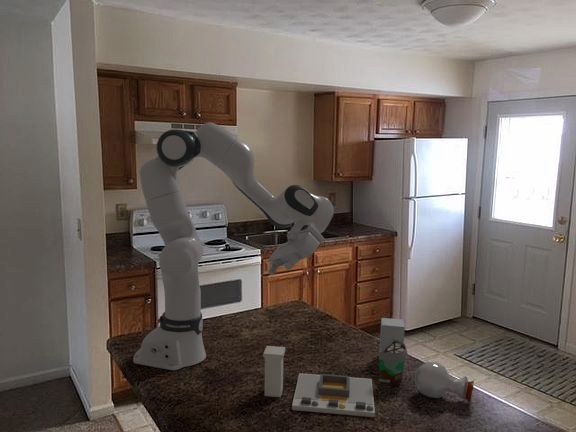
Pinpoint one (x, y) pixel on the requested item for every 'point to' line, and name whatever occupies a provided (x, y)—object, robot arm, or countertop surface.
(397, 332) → the supplement box
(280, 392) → the plug
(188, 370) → the countertop surface
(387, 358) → the food container
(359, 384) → the board
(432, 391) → the potion bottle
